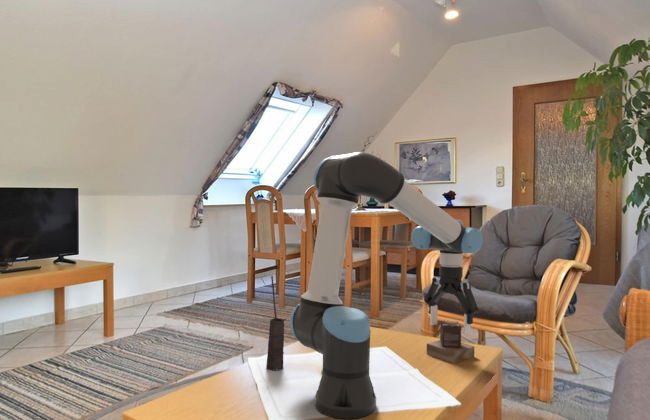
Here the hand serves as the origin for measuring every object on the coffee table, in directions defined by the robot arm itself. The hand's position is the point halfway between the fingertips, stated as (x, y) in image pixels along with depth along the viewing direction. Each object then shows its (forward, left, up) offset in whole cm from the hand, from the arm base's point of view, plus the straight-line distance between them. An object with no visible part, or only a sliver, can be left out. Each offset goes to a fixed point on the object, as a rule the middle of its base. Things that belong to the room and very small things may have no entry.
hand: (449, 329), depth 152 cm
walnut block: (0, 0, -9) cm, 9 cm away
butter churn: (-53, +23, -9) cm, 58 cm away
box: (0, 0, -6) cm, 6 cm away
